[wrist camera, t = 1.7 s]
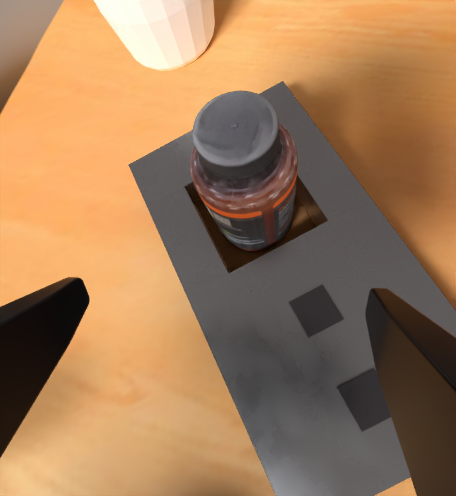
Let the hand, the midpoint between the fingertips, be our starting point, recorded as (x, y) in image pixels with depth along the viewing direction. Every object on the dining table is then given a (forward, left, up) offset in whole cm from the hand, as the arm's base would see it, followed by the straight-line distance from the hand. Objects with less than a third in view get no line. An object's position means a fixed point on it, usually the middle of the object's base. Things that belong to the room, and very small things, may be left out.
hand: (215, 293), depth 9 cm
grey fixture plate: (+2, -4, -13) cm, 14 cm away
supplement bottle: (+7, -4, -14) cm, 16 cm away
